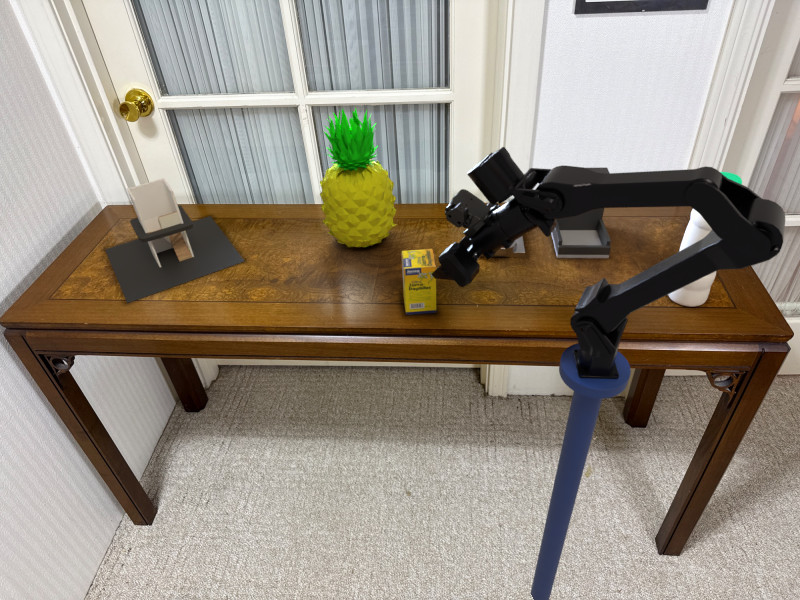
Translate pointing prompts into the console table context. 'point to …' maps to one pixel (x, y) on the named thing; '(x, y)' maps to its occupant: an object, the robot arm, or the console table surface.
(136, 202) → the beige and grey stand
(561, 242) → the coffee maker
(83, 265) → the console table surface
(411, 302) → the supplement box
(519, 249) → the button block
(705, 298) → the water bottle
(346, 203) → the pineapple
